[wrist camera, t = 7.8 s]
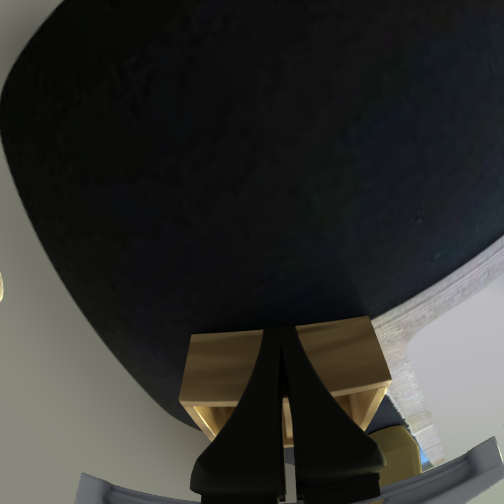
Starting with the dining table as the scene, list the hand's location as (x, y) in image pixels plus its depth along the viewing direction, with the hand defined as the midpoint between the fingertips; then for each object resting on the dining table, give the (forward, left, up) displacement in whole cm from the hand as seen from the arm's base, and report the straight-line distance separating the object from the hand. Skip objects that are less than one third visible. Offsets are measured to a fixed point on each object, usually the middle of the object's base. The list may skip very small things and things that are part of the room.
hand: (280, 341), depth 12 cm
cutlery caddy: (-2, -5, -2) cm, 6 cm away
